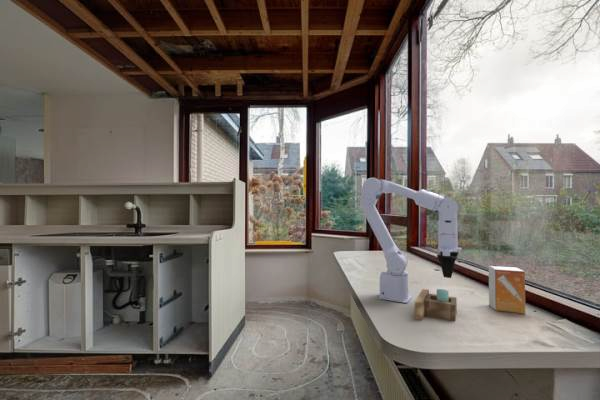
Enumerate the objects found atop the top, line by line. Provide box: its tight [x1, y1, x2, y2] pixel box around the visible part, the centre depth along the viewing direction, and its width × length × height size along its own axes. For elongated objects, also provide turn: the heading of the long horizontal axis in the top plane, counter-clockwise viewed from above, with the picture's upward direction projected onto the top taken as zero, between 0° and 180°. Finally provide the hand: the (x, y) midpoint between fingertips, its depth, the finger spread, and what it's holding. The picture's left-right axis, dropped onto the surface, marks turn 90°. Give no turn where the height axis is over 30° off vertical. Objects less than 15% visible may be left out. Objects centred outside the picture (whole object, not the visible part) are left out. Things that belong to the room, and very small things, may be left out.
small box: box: [488, 265, 526, 314], centre depth 91 cm, size 8×6×13 cm
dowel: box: [436, 288, 450, 302], centre depth 86 cm, size 3×3×7 cm
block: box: [424, 293, 458, 322], centre depth 86 cm, size 8×8×4 cm
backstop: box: [414, 288, 430, 321], centre depth 88 cm, size 2×15×5 cm, turn 149°
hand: (448, 275), depth 94 cm, fingers open, 7 cm apart
